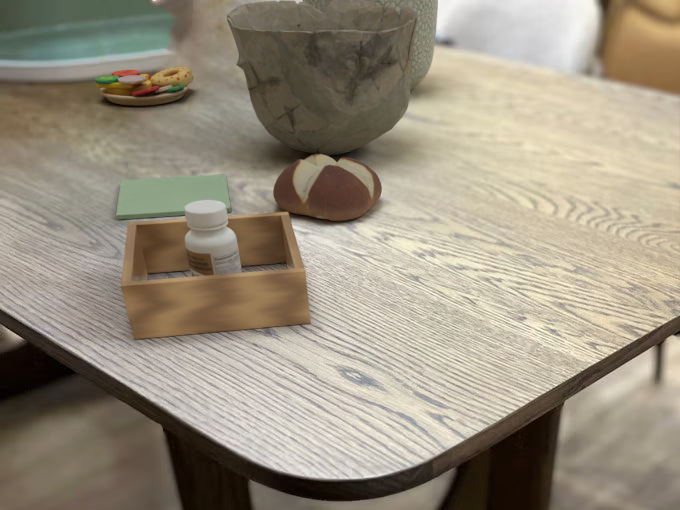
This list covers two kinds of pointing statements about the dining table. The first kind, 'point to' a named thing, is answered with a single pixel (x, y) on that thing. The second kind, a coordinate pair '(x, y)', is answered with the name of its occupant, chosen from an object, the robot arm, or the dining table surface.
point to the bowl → (325, 70)
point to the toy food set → (145, 86)
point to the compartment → (213, 280)
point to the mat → (168, 195)
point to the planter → (424, 42)
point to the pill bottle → (210, 240)
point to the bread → (327, 188)
